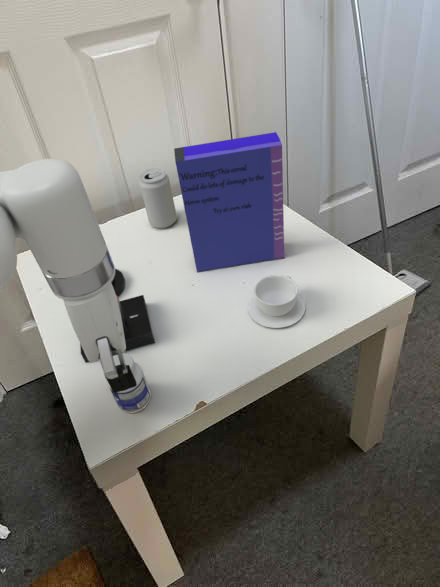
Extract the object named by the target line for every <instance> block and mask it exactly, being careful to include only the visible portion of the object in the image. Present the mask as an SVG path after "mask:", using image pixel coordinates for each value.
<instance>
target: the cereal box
mask: <svg viewBox="0 0 440 587" xmlns="http://www.w3.org/2000/svg"><path fill="white" fill-rule="evenodd" d="M173 151H174V160H175V161H174V163H175V166H176V172H177V176H178V183H179V187H180V192H181V198H182V202H183V208H184V214H185V218H186V223H187V228H188V229H187V230H188V233H189V239H190V244H191V249H192V254H193V259H194V264H195V270H196V273H201V272H202V273H203V272H209V271H215V270H221V269H227V268H232V267H240V266H246V265H251V264H258V263H263V262H270V261H276V260H282V259H285V227H284V225H285V224H284V223H285V222H284V220H285V219H284V180H283V179H284V175H283V172H284V169H283V167H284V166H283V142H282V141H281V139H280V137H279V135H278V133H277V131H274V132H268V133H262V134H261V133H260V134H255V135H249V136H243V137H237V138H231V139H225V140H218V141H213V142H205V143H200V144H195V145H188V146H179V147H174V148H173Z"/></svg>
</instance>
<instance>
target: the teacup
mask: <svg viewBox="0 0 440 587" xmlns="http://www.w3.org/2000/svg"><path fill="white" fill-rule="evenodd" d="M253 293H254V294H253V295H252V297H251V298H250V300H249V302H248V305H247V310H248V314H249V316H250V318H251V319H252V320H253V321H254V322H255V323H257V324H259V325H261V326H263V327H267V328H273V329H279V328H280V329H281V328H286V327H289V326H292V325H294V324H295V323H297V322H299V321H300V320H301V319H302V318H303V317H304V315H305V313H306V306H307V305H306V302H305V300H304V298H303V297H302V295H301V294H299V287H298V284H297V282H296V281H295V280H293V279H292V277H291V276H288V275H282V274H271V275H268V276H265V277H263V278H261V279H259V280H258V281H257V283H256V284H255V286H254V288H253Z"/></svg>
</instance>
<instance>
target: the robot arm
mask: <svg viewBox="0 0 440 587" xmlns="http://www.w3.org/2000/svg"><path fill="white" fill-rule="evenodd" d="M17 239H23V240H24V241H25V243H26V245H27V246H28V248H29V251H30V252H31V255H33V257H34V259H35V261H36V263H37V265H38V267H39V269H40V271H41V273H42V274H43V277H44V279H45V280H46V283H47V284H48V286H49V288H50V290H51V292H52V293H53V295H54V296H55V297H57V298H58V299H61V300H63V304H64V307H65V310H66V312H67V316H68V319H69V320H70V323H71V326H72V328H73V331H74V333H75V335H76V338H77V339H78V342H79V345H80V344H81V346H82V348H83V351H84V353H85V355H86V357H87V359H88V360H89V361H90V362H89V363H96V362H99V361H100V364H101V368H102V372H103V375H104V378H105V379H106V382H107V381H108V383H109V385H110V387H111V389H112V391H113V392H114V393H116V392H120V391H124V390H127V389H129V388H133V387H135V386H136V385H137V384H136V380H135V378H134V375H133V373H132V371H131V369H130V366H129V365H126V362H125V359H124V356H123V353H125V352H126V351H125V350H126V343H125V337H124V335H126V334H127V328H126V326H125V323H124V321H123V318H122V316H121V313H120V308H119V304H118V300H117V297H116V294H115V291H114V288H113V286H112V283H111V282H112V280H113V278H114V276H115V269H116V267H115V263H114V261H113V259H112V256H111V253H110V251H109V248H108V245H107V243H106V241H105V237H104V235H103V233H102V230H101V227H100V224H99V222H98V219H97V217H96V214H95V212H94V209H93V206H92V204H91V201H90V198H89V196H88V193H87V191H86V188H85V185H84V182H83V180H82V178H81V176H80V174H79V171H78V170H77V169H76V167H74V165H72V164H71V163H70V162H68V161H67V160H63V159H59V158H43V159H37V160H34V161H31V162H28V163H25V164H23V165H21V166H19V167H17V168H16V169H11V170H4V171H0V292H2V291H4V289H5V288H7V286H9V284H10V283H11V282H12V280H13V278H14V276H15V273H16V271H17V266H18V252H17V250H18V249H17V241H16V240H17ZM110 345H112V346H113V347H114V348H115V349H114V350H111V347H110ZM124 351H125V352H124ZM115 355H118V358H119V361H120V365H117V366H116V365H115V363H114V359H113V356H115ZM98 358H99V359H98Z"/></svg>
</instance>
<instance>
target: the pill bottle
mask: <svg viewBox="0 0 440 587" xmlns="http://www.w3.org/2000/svg"><path fill="white" fill-rule="evenodd" d="M123 356H124V359H125V362H126V365H129V366H130V369H131V371H132V373H133V375H134V378H135V380H136V384H137V385H136V386H135V387H133V388H129V389H127V390H124V391H120V392H116V393H114V392H113V391H112V389H111V387H110V385H109V383H108V381H107V380H106V384H107V386H108V389H109V391H110V393H111V394H112V396H113V398H114V400H115V402H116V405H117V407H118V408H119V409H120V410H121V411H122V412H124V413H127V414H136V413H138V412H141V411H143V410H144V409H145V408H146V407H147V406H148V404H149V403H150V402H151V397H152V394H151V393H152V392H151V389H150V388H149V384H148V382H147V380H146V377H145V373H144V371H143V369H142V367H141V366H140V365H139V363H137V362H136V361H134V358H133V357H132V356H131V355H130V354H129V353H125V352H124V353H123ZM113 359H114V363H115V365H116V366H117V365H120V361H119V358H118V355H115V356H113Z"/></svg>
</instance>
